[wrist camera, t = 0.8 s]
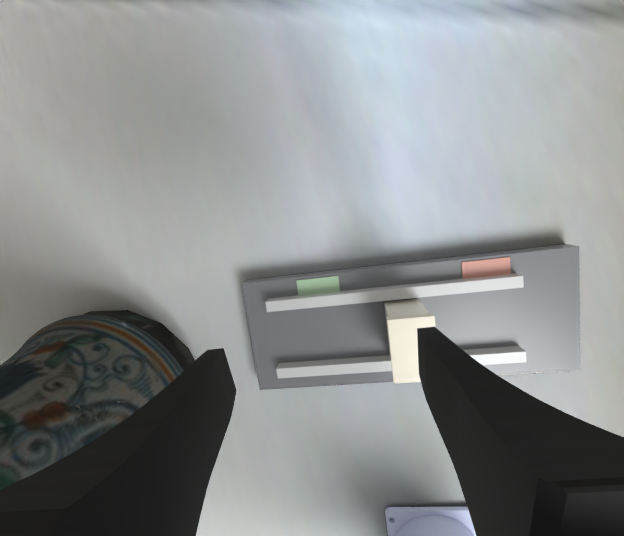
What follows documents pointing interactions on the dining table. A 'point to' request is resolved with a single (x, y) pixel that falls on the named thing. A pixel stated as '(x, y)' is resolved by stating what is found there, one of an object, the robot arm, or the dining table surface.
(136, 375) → the beer stein
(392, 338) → the switch knob
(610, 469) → the robot arm
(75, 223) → the dining table surface
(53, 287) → the dining table surface
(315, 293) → the grey slider track board
